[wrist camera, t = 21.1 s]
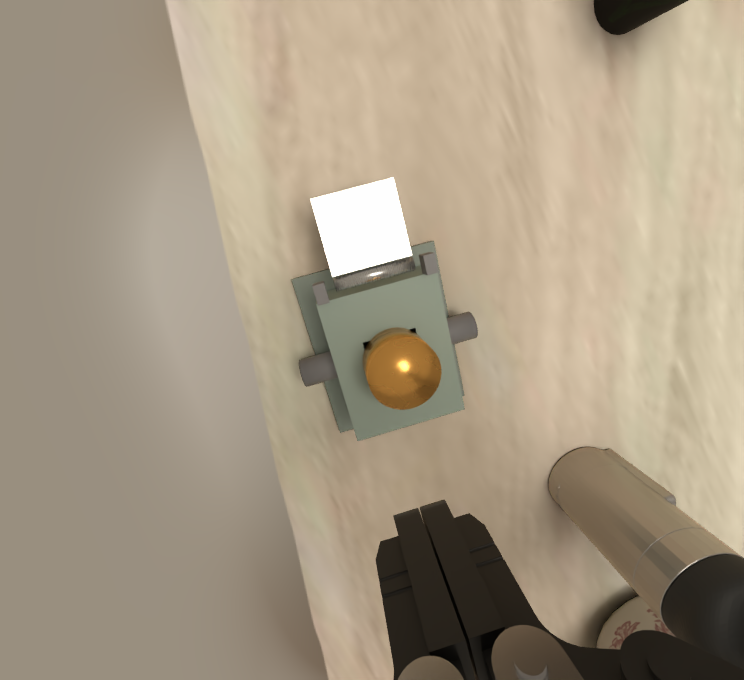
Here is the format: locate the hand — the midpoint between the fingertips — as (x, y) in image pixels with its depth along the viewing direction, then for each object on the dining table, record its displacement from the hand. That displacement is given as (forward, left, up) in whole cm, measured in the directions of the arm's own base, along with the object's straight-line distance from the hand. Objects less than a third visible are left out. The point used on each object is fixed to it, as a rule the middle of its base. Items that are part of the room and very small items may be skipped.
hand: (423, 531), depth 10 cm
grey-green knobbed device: (-3, +4, -31) cm, 31 cm away
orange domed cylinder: (-3, +4, -30) cm, 30 cm away
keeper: (-3, -4, -24) cm, 24 cm away
